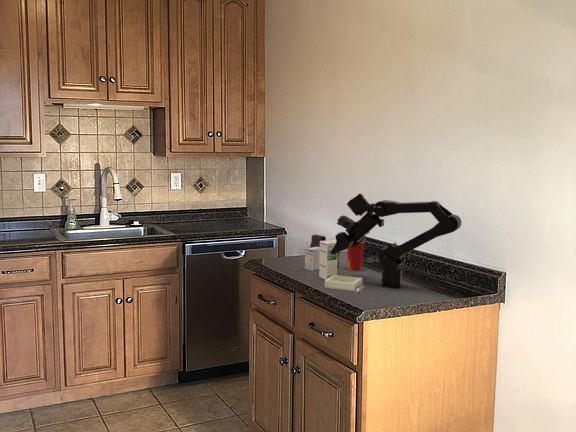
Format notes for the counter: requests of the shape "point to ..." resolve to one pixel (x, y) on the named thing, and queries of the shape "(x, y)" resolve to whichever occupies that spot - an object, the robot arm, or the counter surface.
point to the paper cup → (355, 257)
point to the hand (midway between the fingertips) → (336, 251)
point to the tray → (343, 282)
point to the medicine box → (312, 258)
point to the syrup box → (328, 260)
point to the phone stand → (317, 240)
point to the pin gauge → (359, 289)
